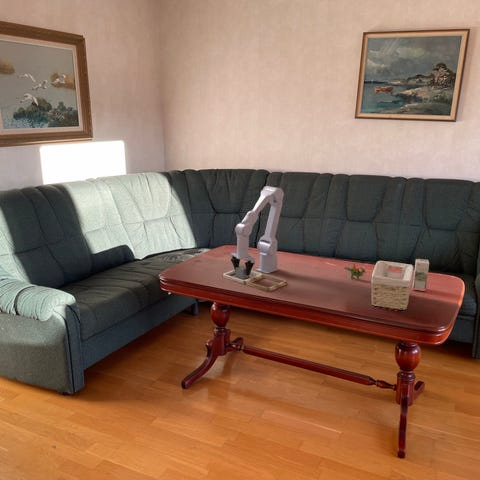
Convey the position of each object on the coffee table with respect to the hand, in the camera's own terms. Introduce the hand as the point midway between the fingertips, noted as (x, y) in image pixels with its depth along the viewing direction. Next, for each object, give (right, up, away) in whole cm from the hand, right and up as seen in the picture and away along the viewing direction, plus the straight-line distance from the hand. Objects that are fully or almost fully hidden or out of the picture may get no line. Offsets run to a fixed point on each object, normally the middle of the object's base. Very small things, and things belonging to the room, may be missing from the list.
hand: (242, 273), depth 230 cm
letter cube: (0, -2, 0) cm, 2 cm away
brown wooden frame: (+11, -5, -9) cm, 15 cm away
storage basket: (+66, -11, -27) cm, 72 cm away
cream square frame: (0, -2, 0) cm, 2 cm away
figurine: (+56, -3, 0) cm, 56 cm away
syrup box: (+84, -7, -13) cm, 85 cm away
